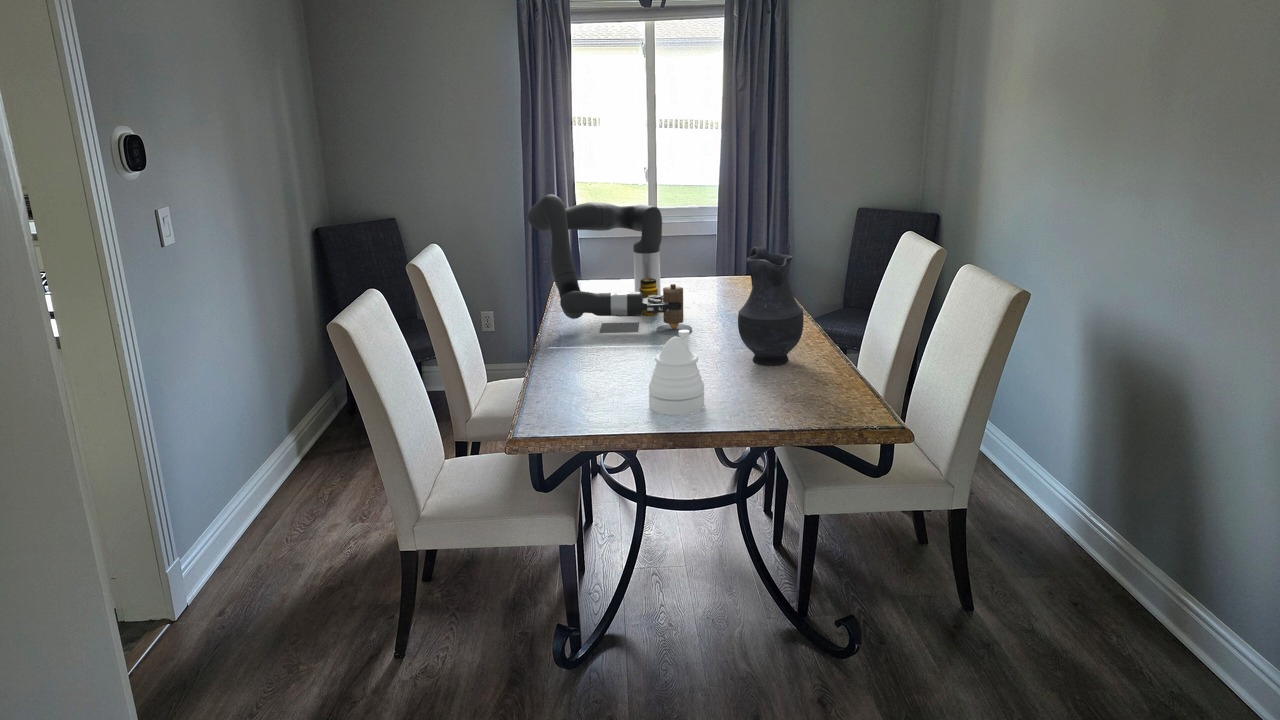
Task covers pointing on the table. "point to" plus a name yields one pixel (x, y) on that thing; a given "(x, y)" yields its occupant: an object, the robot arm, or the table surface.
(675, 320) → the canister
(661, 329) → the grey round disc
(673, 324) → the ball
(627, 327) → the mat
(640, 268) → the robot arm
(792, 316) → the pitcher
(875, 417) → the table surface
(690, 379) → the honey pot
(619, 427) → the table surface
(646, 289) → the condiment
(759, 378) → the table surface
